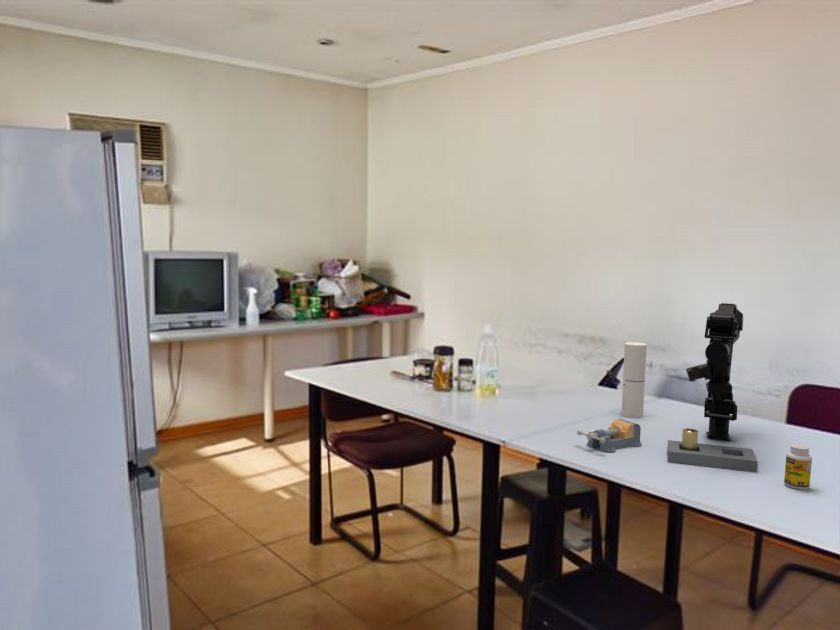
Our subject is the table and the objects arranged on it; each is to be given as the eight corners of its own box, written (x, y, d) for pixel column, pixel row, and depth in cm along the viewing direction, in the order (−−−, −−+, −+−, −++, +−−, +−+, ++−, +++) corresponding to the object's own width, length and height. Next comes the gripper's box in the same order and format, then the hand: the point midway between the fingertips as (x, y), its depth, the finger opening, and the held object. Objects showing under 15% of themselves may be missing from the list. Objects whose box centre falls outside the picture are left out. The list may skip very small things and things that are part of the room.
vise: (618, 437, 207) (619, 416, 206) (645, 446, 198) (646, 424, 197) (575, 446, 197) (576, 424, 196) (601, 456, 188) (602, 433, 188)
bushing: (680, 455, 190) (682, 427, 189) (696, 457, 188) (697, 428, 187) (681, 459, 186) (683, 430, 185) (696, 461, 185) (698, 432, 184)
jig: (667, 450, 194) (667, 440, 194) (751, 459, 187) (752, 448, 187) (667, 461, 184) (668, 451, 184) (756, 472, 177) (757, 461, 176)
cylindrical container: (634, 419, 227) (638, 346, 224) (617, 414, 233) (620, 343, 230) (647, 416, 231) (651, 344, 228) (629, 411, 237) (633, 341, 234)
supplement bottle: (779, 485, 168) (782, 445, 166) (790, 480, 171) (793, 441, 170) (803, 492, 163) (806, 451, 162) (813, 487, 166) (817, 447, 165)
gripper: (688, 349, 203) (685, 399, 205) (689, 361, 186) (686, 416, 188) (728, 352, 199) (725, 403, 201) (734, 364, 182) (730, 420, 184)
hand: (715, 410), depth 194 cm, fingers closed
